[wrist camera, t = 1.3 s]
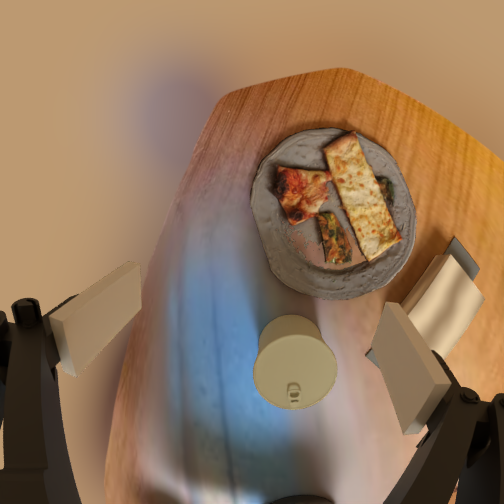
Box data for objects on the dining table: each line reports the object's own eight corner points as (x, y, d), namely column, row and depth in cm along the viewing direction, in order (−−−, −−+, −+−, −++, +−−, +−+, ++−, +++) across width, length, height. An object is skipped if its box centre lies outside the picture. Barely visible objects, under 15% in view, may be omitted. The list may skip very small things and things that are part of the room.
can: (259, 374, 40) (253, 413, 28) (257, 315, 41) (250, 335, 29) (321, 372, 39) (336, 409, 28) (322, 312, 40) (340, 332, 28)
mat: (478, 269, 38) (479, 269, 37) (395, 383, 38) (396, 383, 38) (454, 237, 38) (455, 237, 38) (365, 355, 39) (365, 356, 39)
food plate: (233, 155, 42) (230, 147, 38) (371, 119, 40) (378, 110, 37) (285, 317, 41) (286, 323, 37) (423, 267, 40) (434, 267, 36)
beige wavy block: (469, 296, 37) (485, 299, 33) (421, 363, 38) (434, 372, 33) (435, 255, 38) (450, 254, 34) (382, 326, 39) (394, 332, 34)
